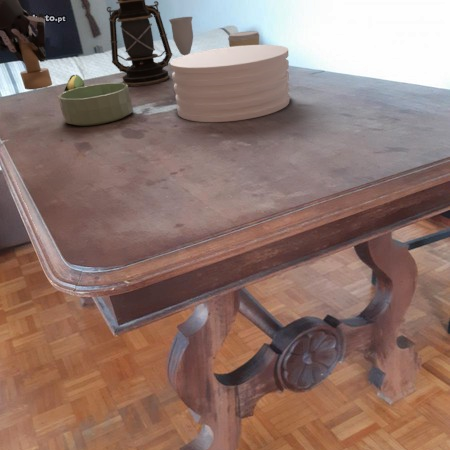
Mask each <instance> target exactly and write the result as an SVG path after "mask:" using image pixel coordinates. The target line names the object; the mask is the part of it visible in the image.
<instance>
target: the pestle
mask: <svg viewBox="0 0 450 450" xmlns="http://www.w3.org/2000/svg"><path fill="white" fill-rule="evenodd" d="M16 40H17V42H18V44H19V47H20V50H21V53H22V57H23V60H24V63H25V64H24V63H23V64H24V66H25V69H26V70H23V71H21V72H20V73H19V75H20V78H21V81H22V84H23V87H24V89H25V90H38V89H39V90H40V89H44V88H48V87H51V86H52V85H53V81H52V77H51V74H50V71H49V68H47V67H41V64H40V61H39V59H38V58H37V56H36V55H35V54H34V52H33V51H32V49H31V47H30V46H29V45H28V44H24V43H23V42H22V41H21V39H20V38H16Z"/></svg>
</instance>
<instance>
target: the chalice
mask: <svg viewBox="0 0 450 450" xmlns="http://www.w3.org/2000/svg"><path fill="white" fill-rule="evenodd" d="M192 21H193V16H182V17H173V18H170V19H168V22H169V23H170V26H171V32H172V33H171V34H172V39H173V41H174V44H175V46H176V48H177V50H178V52H179V54H180V55H181V56H184V55H188V54H191V51H192V48H193V47H192V46H193V41H194V30H193V24H192Z"/></svg>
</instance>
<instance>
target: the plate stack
mask: <svg viewBox="0 0 450 450" xmlns="http://www.w3.org/2000/svg"><path fill="white" fill-rule="evenodd" d="M288 57H289V48H288V47H286V46H283V45H277V44H259V45H246V46H234V47H230V46H228V47H219V48H212V49H206V50H201V51H195V52H190V53H189V54H188V55H181V56H178V57H176V58H174V59H171V60H170V61H169V65H170V70H171V71H172V73H171V78H172V82H173V83H174V84H173V91H174V93H175V97H174V98H175V103H176V105H177V107H176V110H177V115H178V116H179V117H180V118H181V119H183V120H187V121H191V122H192V121H193V122H200V123H226V122H227V123H228V122H238V121H244V120H250V119H255V118H259V117H263V116H268V115H270V114H274V113H276V112H278V111H281V110H283V109H285V108H286V107H287V106H288V105H289V104H290V94H289V93H290V83H289V81H290V72H289V71H288V69H290V64H289V63H290V62H289V59H288Z"/></svg>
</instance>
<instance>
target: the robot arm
mask: <svg viewBox="0 0 450 450" xmlns="http://www.w3.org/2000/svg"><path fill="white" fill-rule="evenodd" d="M30 25H31V26H32V27H33V29H34V30H32V27H31V26H30ZM34 31H36V32H37V34H35V32H34ZM17 38H20V39H21V41H22V42H23V43H24V44H28V45H29V46H30V47H31V49H32V51H33V52H34V54H35V55H36V56H37V58H38V61H39V63H41V62H42V63H43V62H45V60H46V50H45V48H44V47H46V16H45V15H44V13H38V14H37V16H33V15H30V14H29V12H27V10H25V9H23V8H22V6H21V3H20V1H19V0H0V52H6V51H7V50H8V51H10V52H11V53H13V54H14V55H15V56H16V58H17V59H18V60H19V61H20V62H22V63H23V64H24V65H25V63H24V60H23V57H22V53H21V50H20V47H19V44H18V40H17Z"/></svg>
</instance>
